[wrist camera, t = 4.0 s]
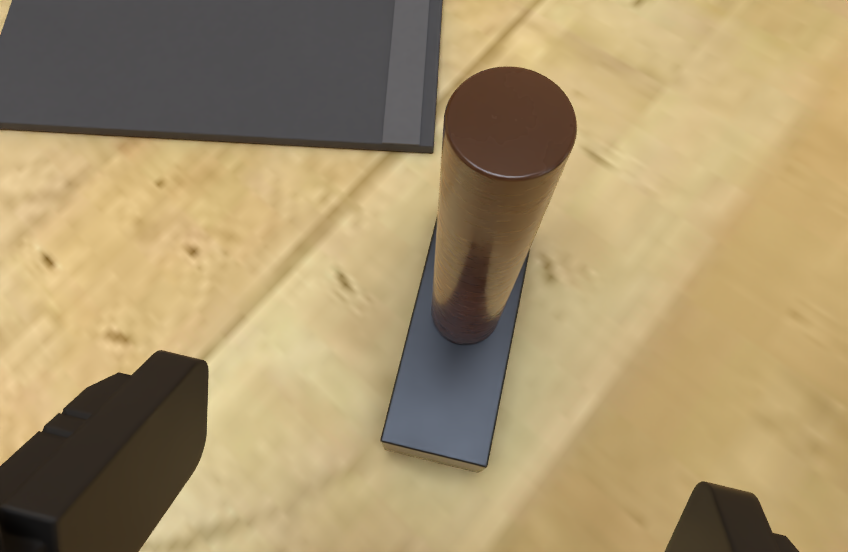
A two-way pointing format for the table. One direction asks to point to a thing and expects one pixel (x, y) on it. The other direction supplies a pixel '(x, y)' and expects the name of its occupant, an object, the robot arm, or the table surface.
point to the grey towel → (226, 70)
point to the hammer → (477, 262)
